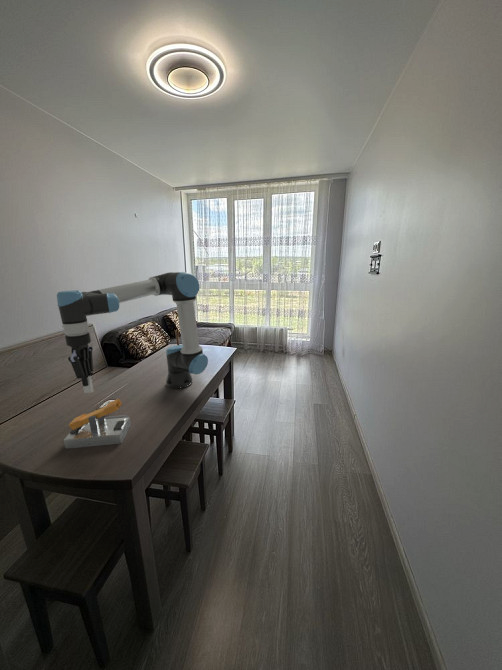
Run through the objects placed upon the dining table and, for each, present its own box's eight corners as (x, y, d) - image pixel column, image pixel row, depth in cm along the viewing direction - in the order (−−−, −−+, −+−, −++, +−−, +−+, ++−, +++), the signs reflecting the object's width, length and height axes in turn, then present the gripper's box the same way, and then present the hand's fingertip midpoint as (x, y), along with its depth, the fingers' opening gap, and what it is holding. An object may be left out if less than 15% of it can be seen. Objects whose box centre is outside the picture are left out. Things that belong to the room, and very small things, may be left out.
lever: (121, 403, 104) (118, 398, 103) (117, 409, 99) (114, 404, 98) (78, 422, 103) (75, 417, 102) (72, 430, 98) (68, 424, 98)
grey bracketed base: (130, 425, 110) (127, 402, 108) (121, 443, 99) (117, 418, 96) (81, 429, 108) (76, 406, 105) (65, 448, 96) (59, 423, 93)
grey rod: (127, 418, 116) (127, 414, 115) (126, 420, 114) (125, 416, 113) (92, 421, 114) (92, 417, 113) (90, 423, 112) (89, 419, 111)
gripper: (75, 329, 98) (87, 385, 104) (55, 338, 85) (69, 401, 92) (96, 328, 99) (106, 383, 105) (78, 337, 86) (91, 399, 92)
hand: (89, 392), depth 98 cm, fingers closed
